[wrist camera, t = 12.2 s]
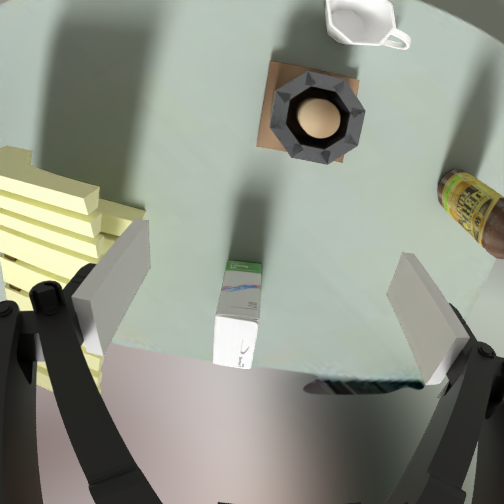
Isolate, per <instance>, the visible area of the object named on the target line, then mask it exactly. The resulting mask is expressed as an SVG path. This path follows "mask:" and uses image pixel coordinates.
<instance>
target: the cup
mask: <svg viewBox="0 0 504 504" xmlns="http://www.w3.org/2000/svg"><path fill="white" fill-rule="evenodd" d="M325 16H326V27H327V34H328V35H329V36H331V37H332V38H333V39H334V40H335V41H337V42H338V43H342V44H350V45H376V46H380V45H381V44H382V45H385V46H389V47H392V48H396V49H404V50H405V49H408V48H409V46H410V43H411V39H410V37H409V36H408V35H407V34H405V33H404V32H402V31H400V30H398V29H396V24H395V17H394V11H393V4H392V3H391V2H389V1H388V0H326V8H325ZM390 35H393V36H395V37H397V38H400V39H401V40H403V41H404V42H405V43H399V42H395V41H391V40H387V38H388V37H389V36H390Z"/></svg>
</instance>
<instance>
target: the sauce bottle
mask: <svg viewBox="0 0 504 504" xmlns="http://www.w3.org/2000/svg"><path fill="white" fill-rule="evenodd" d="M438 200H439V203H440V204H441V205H442V207H443V208H444V209H445V210H446V211H447V213H449V214H450V215H451V216H452V217H453V218H454V219H455V220H456V221H457V222H458V223H459V224H460V225H461V226H462V227H463V228H464V229H465V230H466V231H467V232H468V233H469V234H470V235H471V236H472V237H473V238H474V239H475V240H476V241H477V242H478V243H479V244H480V245H481V246H482V247H483V248H485V249H486V251H487V252H489V253H490V254H491V255H492V256H494V257H496V258H498V259H504V197H503V196H502V195H500V194H499V193H497V192H496V191H495V190H493V189H492V188H490V187H489V186H487V185H486V184H484V183H483V182H481V181H480V180H478V179H477V178H475V177H474V176H472V175H470V174H468V173H466V172H464V171H462V170H452V171H450V172H449V173H447V174H446V175H445V176H444V177H443V179H442V180H441V182H440V184H439V186H438Z"/></svg>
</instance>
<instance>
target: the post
mask: <svg viewBox="0 0 504 504" xmlns="http://www.w3.org/2000/svg"><path fill="white" fill-rule="evenodd" d="M306 71H311V72H315V73H320V74H324V75H329V76H333V77H337V78H341V79H345V80H346V82H347V83H348V85H349V86H350V88H351V89H352V91H353V92H354V94H355V95H356V97H357V91H358V86H359V81H360V80H357V79H353V78H349V77H346V76H342V75H338V74H333V73H329V72H325V71H320V70H316V69H311V68H306V67H301V66H296V65H291V64H285V63H279V62H273V61H270V66H269V72H268V78H267V85H266V91H265V97H264V103H263V109H262V115H261V121H260V127H259V134H258V140H257V146H256V147H263V148H269V149H275V150H281V151H286V149H285V148H284V146H283V145H282V144H281V142H280V141H279V140H278V138H277V137H276V136H275V134H274V133H273V131H272V130H271V129H270V115H271V109H272V103H273V97H274V91H276V90H277V89H279V88H280V87H282V86H283V85H285V84H286V83H288V82H289V81H291V80H292V79H294V78H296V77H297V76H299V75H300V74H302V73H304V72H306ZM286 123H287V124H288V126H289V127H290V128H291V130H292V131H293V133H296V134H302V135H307V136H312V137H316V138H326V137H329V136H331V135H332V134H334V133H335V132H336V131H337V129H338V127H339V124H340V114H339V111H338V109H337V108H336V107H335V106H334V105H333V104H332V103H331V102H329V100H328V99H327V97H326V96H325V94H324V93H323V92H322V91H319V90H314V89H310V88H307V89H306V90H304V91H303V92H301V93H300V94H298V95H296V96H295V97H293V98H292V99H290V102H289V108H288V113H287V119H286ZM286 152H287V151H286ZM343 158H344V155H342V156H341V157H339V158H337V159H336V160H334V161H337V162H341V163H342V162H343Z"/></svg>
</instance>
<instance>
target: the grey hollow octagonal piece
mask: <svg viewBox="0 0 504 504" xmlns="http://www.w3.org/2000/svg"><path fill="white" fill-rule="evenodd" d="M307 88H310V89H314V90H319V91H322V92H323V93H324V94H325V96H326V97H327V99H328V100H329V102H331V103H332V104H333V105H334V106H335V107H336V108H337V109H338V111H339V114H340V124H339V127H338V129H337V131H336V132H335V133H334V134H332V135H331V136H329V137H326V138H316V137H312V136H307V135H302V134H296V133H293V131H292V130H291V128H290V127H289V126H288V124H287V123H286V119H287V113H288V108H289V102H290V99H292V98H293V97H295V96H296V95H298V94H300V93H301V92H303V91H304V90H306V89H307ZM364 115H365V109H364V108H363V106H362V105H361V103H360V101H359V100H358V98H357V97H356V95H355V94H354V92H353V91H352V89H351V88H350V86H349V85H348V83H347V82H346V80H345V79H341V78H337V77H333V76H329V75H324V74H320V73H315V72H311V71H306V72H304V73H302V74H300V75H299V76H297V77H296V78H294V79H292V80H291V81H289V82H288V83H286V84H285V85H283V86H282V87H280V88H279V89H277V90H276V91H274V97H273V103H272V109H271V115H270V129H271V130H272V131H273V133H274V134H275V136H276V137H277V138H278V140H279V141H280V142H281V144H282V145H283V146H284V148H285V149H286V151H287V152H288V153H289V155H290V156H291V158H296V159H302V160H307V161H312V162H317V163H322V164H327V165H328V164H329V163H331V162H333V161H334V160H336V159H337V158H339V157H341V156H342V155H344V154H345V153H347V152H348V151H350V150H352V149H353V148H355V147H356V146H358V143H359V138H360V134H361V129H362V125H363V120H364Z"/></svg>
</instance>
